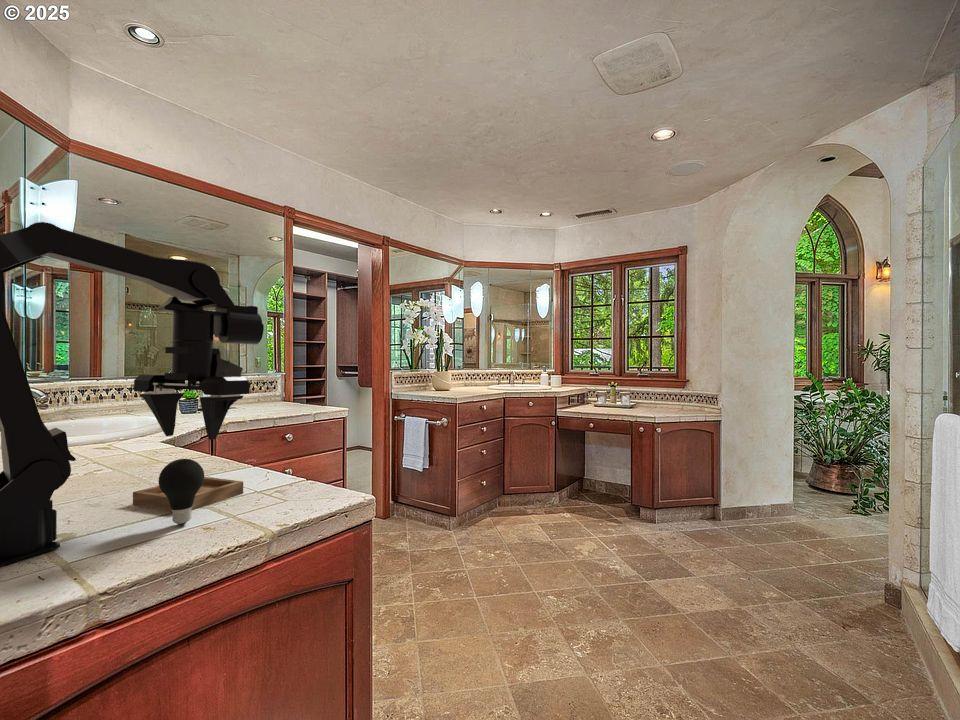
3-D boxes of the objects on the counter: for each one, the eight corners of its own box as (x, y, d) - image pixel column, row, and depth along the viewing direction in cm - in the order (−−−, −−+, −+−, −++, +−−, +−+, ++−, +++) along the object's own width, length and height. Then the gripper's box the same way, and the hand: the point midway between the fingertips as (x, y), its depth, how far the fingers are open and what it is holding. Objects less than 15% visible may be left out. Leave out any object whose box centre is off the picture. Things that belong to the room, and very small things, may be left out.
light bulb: (188, 532, 68) (188, 463, 68) (148, 532, 68) (148, 463, 68) (212, 518, 74) (212, 455, 74) (175, 518, 74) (175, 454, 74)
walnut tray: (183, 513, 76) (182, 499, 76) (132, 504, 80) (132, 492, 80) (243, 493, 88) (243, 481, 88) (196, 486, 92) (196, 475, 92)
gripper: (275, 344, 81) (273, 434, 81) (193, 344, 87) (191, 428, 86) (221, 340, 70) (219, 444, 70) (132, 340, 76) (129, 436, 76)
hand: (190, 437), depth 76 cm, fingers open, 9 cm apart
